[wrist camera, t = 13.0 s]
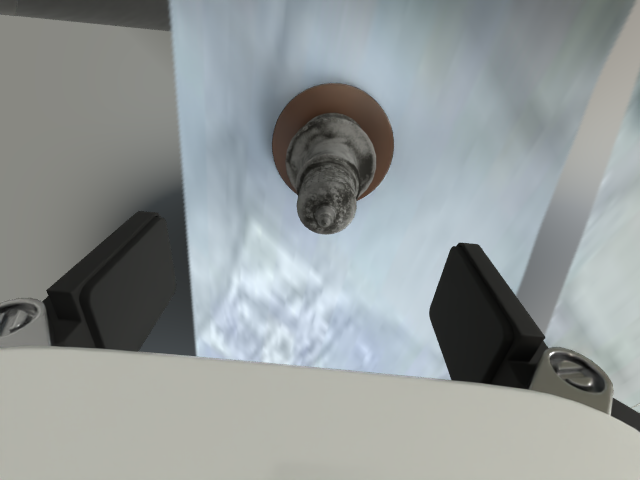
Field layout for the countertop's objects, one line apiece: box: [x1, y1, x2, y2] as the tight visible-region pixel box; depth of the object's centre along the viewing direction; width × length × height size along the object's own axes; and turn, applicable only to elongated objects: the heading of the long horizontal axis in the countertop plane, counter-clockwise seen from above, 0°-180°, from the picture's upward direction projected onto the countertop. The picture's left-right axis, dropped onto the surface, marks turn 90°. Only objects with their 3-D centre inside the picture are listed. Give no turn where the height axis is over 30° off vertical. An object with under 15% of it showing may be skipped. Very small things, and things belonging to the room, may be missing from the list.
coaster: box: [272, 83, 394, 201], centre depth 25 cm, size 9×9×1 cm
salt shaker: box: [285, 113, 376, 234], centre depth 19 cm, size 6×6×12 cm
